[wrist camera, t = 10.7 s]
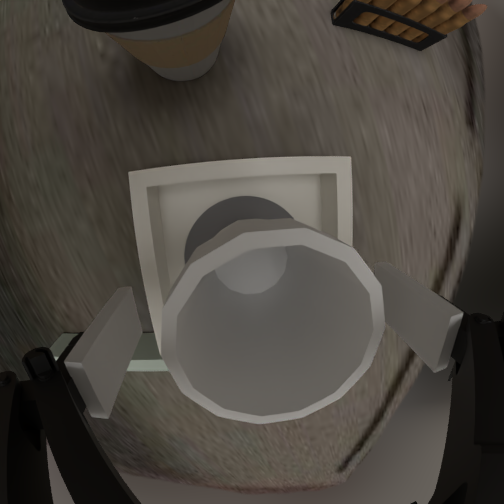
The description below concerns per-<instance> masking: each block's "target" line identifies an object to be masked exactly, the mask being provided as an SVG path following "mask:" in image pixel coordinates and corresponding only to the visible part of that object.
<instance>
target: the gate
mask: <svg viewBox="0 0 504 504" xmlns="http://www.w3.org/2000/svg"><path fill="white" fill-rule="evenodd" d="M76 335H78V334H70V333H63V334H62V335H61V336H60V337H59V338H58V339H57V341H56V342H55V343H54V344H53V345H52V346H51V348H50V350H51V351H52V353H53V356H54V358H55V360H57V359H58V358H59V356H60V355H61V353H62V352H63V351H64V349H65V348H66V347H67V346H68V344H69V343H70V341H71V340H72V339H73V337H75V336H76ZM127 371H169V370H168V368H167V366H166V364H165V363H164V361H163V359H162V357H161V355H160V352H159V348H158V345H157V341H156V337H155V333H142V335H141V337H140V339H139V342H138V344H137V347H136V349H135V351H134V354H133V356H132V359H131V361H130V364H129V366H128V369H127Z"/></svg>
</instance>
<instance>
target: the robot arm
mask: <svg viewBox="0 0 504 504" xmlns="http://www.w3.org/2000/svg"><path fill="white" fill-rule="evenodd" d="M374 276H375V277H376V279H377V280H378V281H379V283H380V284H381V286H382V295H383V305H384V317H385V322H386V323H387V324H388V325H389V326H390V327H391V328H392V329H393V330H394V331H395V332H396V333H397V334H398V335H399V336H400V337H401V338H402V339H403V340H404V341H405V342H406V343H407V344H408V345H409V346H410V348H411V349H412V350H413V351H414V352H415V353H416V354H417V355H418V356H419V357H420V358H421V359H422V360H423V361H424V362H425V363H426V364H427V365H428V366H429V367H430V368H431V369H432V371H433V372H437V371H440V370H442V369H444V368H447V365H448V363H449V360H450V357H452V358H454V359H455V363H454V366H453V368H452V371H451V374H450V376H449V379H448V381H450V379H451V378H452V377H453V379H452V395H451V407H450V415H449V424H448V431H447V437H446V443H445V449H444V454H443V460H442V465H441V469H440V473H439V477H438V482H437V485H436V489H435V492H434V494H433V496H432V498H431V500H430V501H429V503H428V504H504V312H503V315H502V319H501V321H495V322H494V321H493V319H492V318H491V317H489V316H488V315H485V314H482V313H473V314H471V315H469V314H467V313H466V312H464V311H463V310H462V309H460V308H459V307H457V306H456V305H454V304H453V303H451V302H450V301H448V300H447V299H445V298H444V297H442V296H440V295H438V294H436V293H434V292H433V291H431V290H430V289H428V288H427V287H425V286H424V285H422V284H421V283H419V282H418V281H416V280H414V279H413V278H411V277H410V276H408V275H407V274H405V273H403V272H402V271H400V270H399V269H397V268H396V267H394V266H392V265H391V264H389V263H387V262H378V263H375V266H374ZM142 332H143V331H142V328H141V324H140V320H139V316H138V312H137V308H136V304H135V299H134V295H133V290H132V287H119V288H118V289H117V290H116V291H115V293H114V294H113V295H112V296H111V298H110V299H109V300H108V302H107V303H106V304H105V305H104V307H103V308H102V309H101V311H100V312H99V313H98V315H97V316H96V317H95V319H94V320H93V321H92V323H91V324H90V325H89V327H88V328H87V329H86V331H85V332H80V333H79V334H78V335H76V336H75V337H73V339H72V340H71V341H70V343H69V344H68V346H67V347H66V348H65V349H64V351H63V352H62V353H61V355H60V356H59V358H58V359H57V360H55V358H54V356H53V353H52V351H51V350H50V349H49V348H46V347H39V348H35V349H33V350H31V351H29V352H28V353H26V354H25V355H24V357H23V358H22V364H23V366H24V368H25V370H26V372H27V374H28V376H29V378H30V380H27V381H19V379H18V378H17V376H16V374H15V373H14V372H12V371H5V372H1V373H0V504H53V499H52V493H51V486H50V479H49V470H48V460H47V448H46V437H47V440H48V443H49V446H50V448H51V451H52V454H53V456H54V459H55V461H56V464H57V466H58V468H59V471H60V473H61V476H62V478H63V480H64V482H65V484H66V487H67V489H68V491H69V492H70V495H71V497H72V499H73V501H74V503H75V504H141V503H140V501H139V500H138V499H137V498H136V496H135V495H134V494H133V493H132V491H131V490H130V489H129V487H128V486H127V484H126V483H125V482H124V480H123V479H122V477H121V476H120V474H119V473H118V471H117V470H116V469H115V467H114V466H113V464H112V462H111V461H110V459H109V458H108V456H107V455H106V453H105V451H104V450H103V448H102V446H101V445H100V443H99V441H98V440H97V438H96V436H95V434H94V433H93V431H92V429H91V427H90V425H89V424H88V422H87V420H86V418H85V416H84V415H83V412H84V410H85V408H86V407H87V409H88V411H89V413H90V414H91V416H92V417H98V418H107V419H109V416H110V413H111V410H112V408H113V405H114V402H115V400H116V397H117V394H118V392H119V389H120V386H121V384H122V381H123V379H124V376H125V374H126V371H127V369H128V366H129V364H130V361H131V359H132V356H133V354H134V351H135V349H136V347H137V344H138V342H139V339H140V337H141V335H142ZM411 504H417V502H416V501H415V502H413V503H411Z"/></svg>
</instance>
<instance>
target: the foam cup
mask: <svg viewBox="0 0 504 504" xmlns="http://www.w3.org/2000/svg"><path fill="white" fill-rule="evenodd" d="M384 330H385V317H384V305H383V295H382V286H381V284H380V283H379V281H378V280H377V279H376V277H375V276H374V274H373V273H372V271H371V270H370V269H369V267H368V266H367V265H366V263H365V262H364V260H363V259H362V258H361V256H360V255H359V254H358V252H357V251H356V250H355V249H354V248H353V247H351V246H349V245H348V244H346V243H344V242H342V241H341V240H339V239H337V238H335V237H334V236H332V235H329V234H327V233H325V232H322V231H320V230H318V229H315V228H313V227H311V226H308V225H306V224H303V223H301V222H299V221H296V220H294V219H291V218H283V219H270V220H265V219H245V220H237V221H235V222H234V223H232V224H230V225H229V226H227V227H225V228H224V229H222V230H221V231H220V232H219V233H218V234H217V235H216V236H214V237H213V238H212V239H210V240H208V241H207V242H205V243H203V244H202V245H200V246H198V247H197V248H196V249H195V251H194V252H193V254H192V255H191V257H190V258H189V260H188V262H187V263H186V265H185V266H184V268H183V269H182V271H181V273H180V274H179V276H178V277H177V279H176V281H175V282H174V284H173V286H172V287H171V290H170V292H169V294H168V297H167V299H166V301H165V304H164V306H163V308H162V320H161V357H162V359H163V361H164V363H165V364H166V366H167V368H168V370H169V371H170V373H171V375H172V377H173V378H174V380H175V382H176V383H177V385H178V387H179V389H180V390H181V392H182V393H183V394H184V395H186V396H187V397H189V398H190V399H192V400H193V401H195V402H196V403H198V404H199V405H201V406H202V407H204V408H205V409H207V410H209V411H210V412H212V413H213V414H215V415H217V416H220V417H224V418H229V419H234V420H239V421H244V422H250V423H255V424H265V423H272V422H279V421H286V420H292V419H298V418H303V417H305V416H307V415H309V414H311V413H313V412H315V411H317V410H319V409H321V408H323V407H325V406H327V405H328V404H330V403H332V402H334V401H336V400H338V399H340V398H341V397H342V396H343V395H344V394H345V393H346V392H347V391H348V390H349V389H350V388H351V387H352V386H353V385H354V384H355V383H356V382H357V381H358V379H359V378H360V377H361V376H362V375H363V374H364V373H365V372H366V371H367V370H368V368H369V367H370V366H371V363H372V361H373V358H374V356H375V354H376V351H377V348H378V346H379V343H380V341H381V338H382V335H383V333H384Z"/></svg>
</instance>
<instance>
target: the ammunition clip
mask: <svg viewBox="0 0 504 504" xmlns="http://www.w3.org/2000/svg"><path fill="white" fill-rule="evenodd" d="M471 2H472V0H449V1H448V0H340V2H339V3H338V4H337V5H336V6H335V7H334V8H333V9H332V11H331V17H332V24H333V25H336V26H341V27H345V28H349V29H353V30H357V31H361V32H365V33H368V34H372V35H375V36H379V37H382V38H385V39H388V40H391V41H394V42H397V43H400V44H403V45H406V46H408V47H411V48H414V49H416V50H419V51H422V50H424V49H425V48H427V47H429V46H431V45H433V44H435V43H437V42H439V41H441V40H442V39H444V38H446V37H447V35H445V34H447V33H449V32H451V31H453V30H456V29H458V28H460V27H462V26H463V25H464V24H465V23H467V22H469V21H471V20H472V19H474V18H476V17H478V16H479V15H481V14H482V13H483V12H484V11H485V10H486V8H487V5H484V4H477V5H472V6H469V7H467V6H468V5H469V4H470V3H471ZM465 7H466V8H465Z"/></svg>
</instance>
